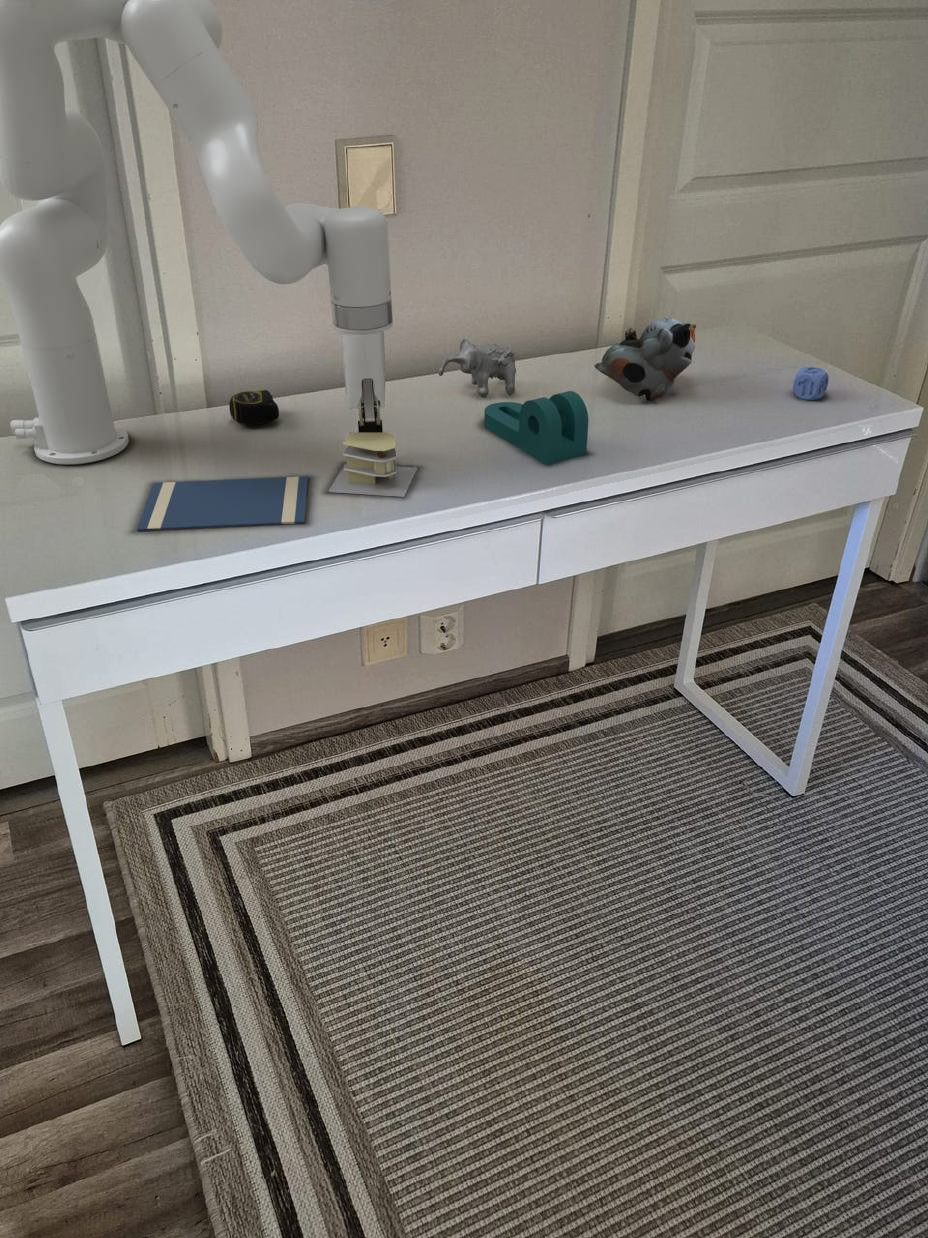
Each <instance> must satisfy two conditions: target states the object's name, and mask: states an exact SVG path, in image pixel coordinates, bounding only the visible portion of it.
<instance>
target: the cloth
mask: <svg viewBox="0 0 928 1238" xmlns="http://www.w3.org/2000/svg"><path fill="white" fill-rule="evenodd" d="M308 485H309V476H308V475H305V476H282V477H259V478H238V479H237V478H233V479H214V480H212V479H210V480H190V481H189V480H188V481H187V480H186V481H163V482H154V483H153V485H152V486H151V489H150V492H149V495H148V498H147V501H146V503H145V506H144V508H143V512H142V515H141V516H140V519H139V522H138V525H137V528H136V531H137V532H146V531H147V532H148V531H150V532H151V531H169V530H170V531H171V530H191V529H192V530H193V529H212V528H214V529H215V528H232V527H233V528H234V527H256V526H257V527H258V526H276V525H277V526H278V525H279V526H280V525H297V524H298V525H300V524H305V523H306V513H307V511H306V510H307V499H308V498H307V497H308Z"/></svg>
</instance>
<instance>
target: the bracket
mask: <svg viewBox="0 0 928 1238" xmlns="http://www.w3.org/2000/svg"><path fill="white" fill-rule="evenodd" d="M483 413H484V414H483V415H484V420H483V426H484V428H485V429H486V430H488V431H489V432H491V433H493V434H494V435H496V436H497V437H499V438H501V439H502V440H504V441H506V442H507V443H509V444H511V445H513V446H514V447H516V448H518V449H519V450H521V451H523V452H525V453H526V454H528V455H529V456H531V457H533V458H535V459H536V460H538V461H540V463H541V462H542V463H543V464H545V465H546V466H547V465H552V464H555V463H558V462H561V461H562V462H563V461H565V460H569V459H574V458H577V457H580V456H585V455H587V452H588V451H587V450H588V435H589V412H588V409H587V405H586V403H585V401H584V400H583V398H582V396H580V394H578V392H576V391H573V390H568V391H567V390H566V391H563V392H559V393H555V394H552V395H551V396H550V397H549V398H548V397H545V396H543V397H538V398H533V399H529V400H526V401H525V402H523V403H519V402H515V401H500V402H494V403H491V404H488V405H487V406H485V408H484V411H483Z"/></svg>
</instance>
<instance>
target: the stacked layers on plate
mask: <svg viewBox="0 0 928 1238" xmlns="http://www.w3.org/2000/svg"><path fill="white" fill-rule="evenodd" d="M342 445H344V446H346V447H345V450H344V451H343V452H342V455H343V456H344V457H346V462H345V463H344V464H343V466H342V468H341V470H340V471H339V473H338V474H337V476H336V478H335V480H334V481H333V483H332V484H331V486H330V488H329V490H328V491H327V492H328V493H337V494H338V493H339V494H353V495H354V494H355V495H356V494H357V495H369V496H384V497H397V498H399V497H400V498H405V496H406V494H407V491H408V489H409V487H410V485H411V483H412V481H413V479H414V477H415V474H416V472H417V471H418V467H411V466H409V467H408V466H397V461H396V459H397V451H396V448H397V444H396V437H395V435H394V434H392V433H390V432H383V433H359V432H349V433H348V434H347V436H346V438H345V439H344V440H343V442H342Z"/></svg>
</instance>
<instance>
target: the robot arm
mask: <svg viewBox="0 0 928 1238" xmlns="http://www.w3.org/2000/svg"><path fill="white" fill-rule="evenodd" d="M95 38H102V39H106V40H109V41H113V42H116V43H119V44H122V45H124V46H127V48H128V50H129V52H130V53H131V55H132V57H133V59H134V60H135V61H136V63H137V64H138V66H139V67H140V69H141V70H142V72H143V73H144V75H145V76H146V78H147V79H148V81H149V83H150V84H151V85H152V87H153V88H154V90H155V91H156V93H157V95H158V96H159V97H160V99H161V100H162V102H163V103H164V105H165V106H166V108H167V109H168V111H169V113H170V114H171V116H172V117H173V119H174V120H175V121H176V123H177V124H178V126H179V128H180V130H181V131H182V133H183V134H184V135H185V137H186V138H187V140H188V142H189V143H190V145H191V146H192V148H193V150H194V152H195V154H196V157H197V160H198V165H199V169H200V171H201V175H202V178H203V181H204V183H205V186H206V189H207V192H208V195H209V198H210V200H211V202H212V205H213V207H214V209H215V211H216V214H217V215H218V218H219V219H220V221H221V223H222V224H223V227H224V228H225V229H226V231H227V232H228V234H229V235H230V237H231V239H232V240H233V241H234V243H235V244H236V246H237V247H238V248H239V251H241V253H242V255H243V256H244V257H245V259H246V260H247V261H248V263H249V264H250V265H251V267H252V268H253V269H254V270H255V271H256V272H257V273H258V274H259V275H260V276H262V277H263V278H264V279H266V280H268V281H269V282H272V283H274V284H278V285H292V284H295V283H297V282H299V281H301V280H302V279H304V278H305V277H306V276H307V275H308V274H310V273H311V271H312V270H314V269H316V268H318V267H320V266H322V265H326V266H327V270H328V282H329V293H330V303H331V317H332V328H333V330H335V331H337V332H338V333H341V347H342V348H341V349H342V361H343V362H342V363H343V374H344V375H343V376H344V387H345V397H346V398H345V399H346V408H347V409H348V410H349V411H350V412H352V411H353V410H357V409H358V418H359V419H358V420H357V429H358V431H357V432H358V433H384V430H383V420H382V419H381V410H382V409H383V408H385V405H386V350H385V349H386V348H385V331H387V330H390V329H391V328H392V327H393V326H394V321H393V319H394V318H393V304H392V303H393V302H392V283H391V267H390V265H391V264H390V250H389V249H390V248H389V247H390V246H389V231H388V221H387V217H386V216H385V214H384V212H382V211H381V210H379V209H377V208H373V207H369V206H367V207H366V206H351V207H342V208H337V207H330V206H329V207H328V206H325V205H323V206H322V205H318V204H313V203H308V202H296V203H291V204H288V205H287V206H284V204H283V202H282V201H281V199H280V197H279V196H278V194H277V193H276V191H275V189H274V188H273V186H272V184H271V182H270V180H269V178H268V176H267V173H266V172H265V168H264V166H263V162H262V159H261V156H260V150H259V120H258V114H257V110H256V108H255V105H254V104H253V102H252V101H251V99H250V97H249V96H248V95H247V93H246V91H245V90H244V88H243V87H242V85H241V83H240V82H239V80H238V79H237V78H236V76H235V74H234V73H233V71H232V70H231V68H230V65H228V63H227V62H226V60H225V58H224V57H223V55H222V53H221V52H220V47H221V45H222V39H223V27H222V22H221V19H220V15H219V13H218V11H217V9H216V7H215V5H214V4H213V2H212V1H211V0H0V184H1V186H2V187H3V188H4V189H5V190H6V191H7V192H8V193H9V194H10V195H12V196H14V197H16V198H18V199H20V200H25V201H31V202H36V203H37V204H35V205H33V206H30V207H27V208H25V209H23V210H21V211H18V212H16V213H14V214H12V215H10V216H8V217H7V218H6V219H5V220H3V221H2V223H1V224H0V283H1V285H2V287H3V290H4V291H5V295H6V297H7V300H8V303H9V306H10V308H11V312H12V315H13V319H14V322H15V325H16V326H15V327H16V329H17V330H16V331H17V334H18V339H19V342H20V344H21V345H20V346H21V348H22V353H23V357H24V362H25V365H26V369H27V374H28V377H29V382H30V386H31V390H32V394H33V399H34V402H35V407H36V411H37V417H34V418H33V419H31V420H29V419H28V420H27V419H13V420H11V421H10V426H9V427H10V432H11V433H12V435H14V436H15V438H16V439H17V440H27V439H33V440H35V442H34V444H33V450H34V454H35V456H36V457H37V458H38V459H39V460H42V461H44V462H46V463H50V464H55V465H83V464H89V463H94V462H98V461H103V460H105V459H108V458H111V457H113V456H115V455H118V454H119V453H120V452H122V451H123V450H125V448H127V447H128V444H129V442H130V439H129V435H128V432H127V431H126V430H125V429H124V428H123V427H121V426H119V425H116V424H115V422H114V417H113V411H112V408H111V402H110V397H109V392H108V386H107V382H106V378H105V373H104V367H103V362H102V357H101V352H100V348H99V342H98V338H97V333H96V329H95V324H94V319H93V315H92V311H91V309H90V306H89V304H88V302H87V300H86V297H85V296H84V294H83V292H82V290H81V287H80V286H79V284H78V281H77V277H79V276H80V275H82V274H84V273H86V272H87V271H89V270H91V269H92V268H94V267H95V266H96V265H98V264H99V262H100V261H101V260H102V259H103V257H104V256H105V253H106V250H107V248H108V240H109V215H108V198H107V197H108V196H107V195H108V194H107V175H106V173H107V172H106V161H105V154H104V153H105V152H104V150H103V146H102V143H101V139H100V137H99V135H98V134H97V131H96V130H95V129H94V127H93V125H92V124H91V123H90V122H89V121H88V120H87V119H86V118H85V117H84V116H83V115H82V114H80V113H79V112H78V111H75V110H73V109H71V108H68V107H66V104H65V102H66V101H65V83H64V76H63V73H62V72H63V71H62V69H61V65H60V61H59V59H58V58H57V55H56V53H55V52H56V51H55V48H56V45H58V44H59V43H63V42H71V41H79V40H82V41H83V40H90V39H95Z"/></svg>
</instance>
